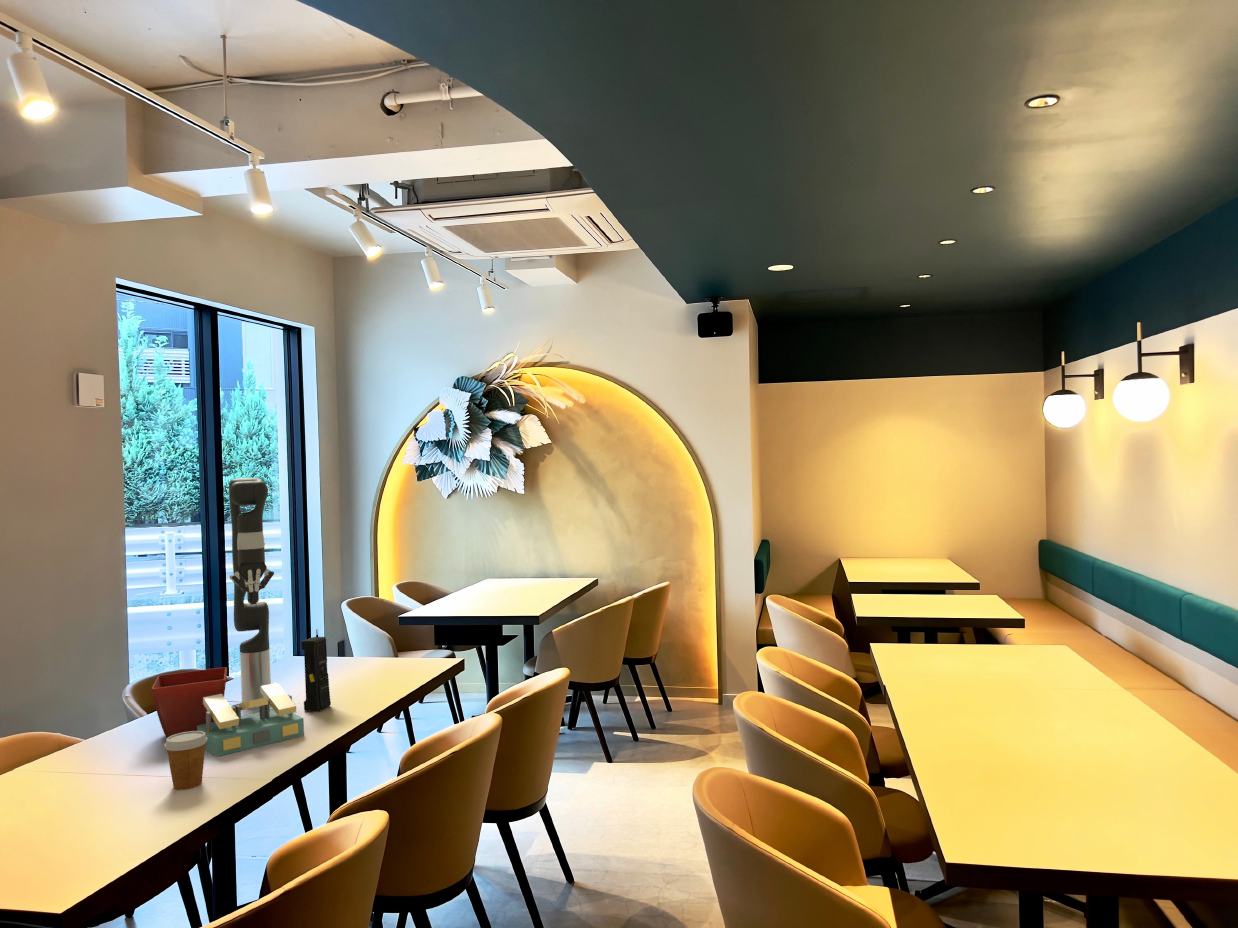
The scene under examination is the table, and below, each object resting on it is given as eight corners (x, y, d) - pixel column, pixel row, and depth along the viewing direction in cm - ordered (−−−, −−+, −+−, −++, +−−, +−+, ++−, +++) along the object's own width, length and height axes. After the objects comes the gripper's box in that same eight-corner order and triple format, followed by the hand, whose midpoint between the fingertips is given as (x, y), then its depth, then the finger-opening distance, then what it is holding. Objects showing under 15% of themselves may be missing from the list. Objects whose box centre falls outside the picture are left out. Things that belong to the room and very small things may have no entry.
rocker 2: (233, 712, 250) (232, 705, 250) (250, 708, 253) (250, 701, 253) (249, 707, 239) (249, 700, 239) (268, 704, 242) (267, 696, 243)
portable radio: (318, 712, 271) (315, 633, 271) (301, 712, 272) (298, 633, 272) (332, 705, 279) (329, 629, 279) (315, 705, 280) (312, 629, 280)
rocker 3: (260, 691, 255) (260, 685, 255) (277, 688, 259) (277, 682, 258) (278, 715, 245) (279, 709, 244) (295, 712, 248) (296, 705, 248)
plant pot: (160, 729, 259) (158, 674, 259) (229, 720, 267) (227, 666, 267) (153, 747, 242) (151, 688, 242) (227, 736, 249) (225, 679, 249)
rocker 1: (202, 703, 245) (203, 697, 244) (221, 699, 248) (221, 693, 248) (219, 728, 234) (220, 722, 234) (238, 724, 237) (239, 718, 237)
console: (197, 742, 244) (196, 707, 244) (282, 723, 260) (280, 690, 261) (217, 756, 231) (215, 718, 232) (304, 735, 248) (303, 700, 248)
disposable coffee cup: (176, 779, 215) (174, 731, 215) (215, 776, 216) (213, 729, 216) (158, 793, 206) (157, 743, 206) (200, 790, 206) (198, 740, 206)
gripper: (268, 544, 266) (270, 600, 266) (224, 548, 258) (226, 605, 258) (277, 545, 261) (279, 602, 261) (232, 549, 252) (234, 608, 252)
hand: (253, 603), depth 259 cm, fingers closed
